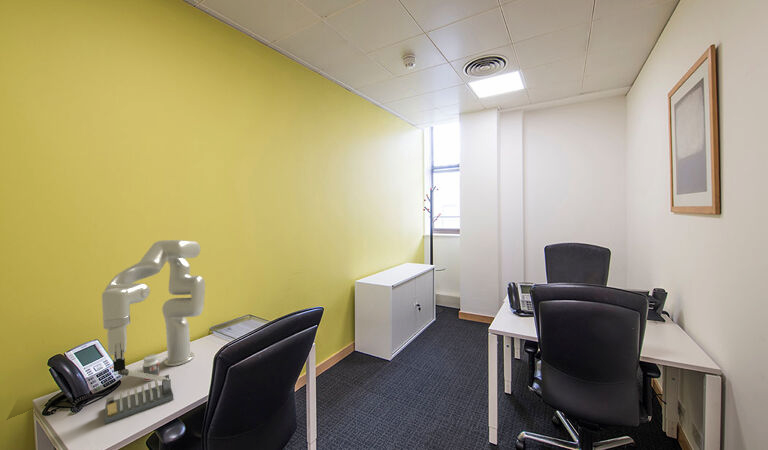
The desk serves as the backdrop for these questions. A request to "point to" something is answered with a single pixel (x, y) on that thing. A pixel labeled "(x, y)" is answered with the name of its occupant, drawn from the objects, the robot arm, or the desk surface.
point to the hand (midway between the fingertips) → (119, 369)
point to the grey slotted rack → (138, 401)
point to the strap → (142, 375)
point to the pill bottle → (151, 365)
